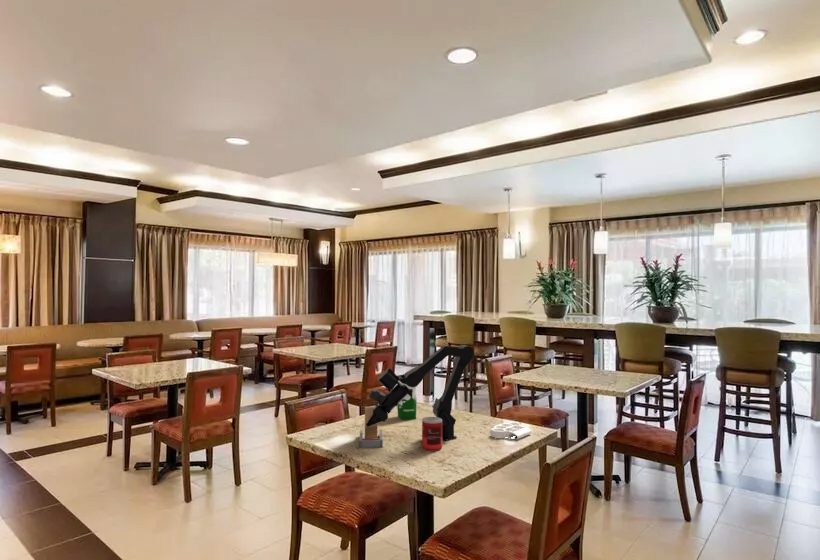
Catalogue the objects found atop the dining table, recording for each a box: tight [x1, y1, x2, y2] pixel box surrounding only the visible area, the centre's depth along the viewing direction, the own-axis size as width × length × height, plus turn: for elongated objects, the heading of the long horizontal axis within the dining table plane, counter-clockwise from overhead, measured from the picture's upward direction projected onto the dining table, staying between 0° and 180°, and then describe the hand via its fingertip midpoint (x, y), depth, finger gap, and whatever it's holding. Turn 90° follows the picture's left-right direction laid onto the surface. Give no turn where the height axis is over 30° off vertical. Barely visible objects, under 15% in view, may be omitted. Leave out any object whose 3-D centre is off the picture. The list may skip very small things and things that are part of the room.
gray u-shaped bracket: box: [358, 429, 384, 448], centre depth 194 cm, size 15×9×2 cm, turn 4°
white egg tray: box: [490, 421, 533, 441], centre depth 204 cm, size 3×18×15 cm
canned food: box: [421, 416, 443, 452], centre depth 186 cm, size 8×8×11 cm
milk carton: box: [396, 381, 418, 421], centre depth 232 cm, size 9×9×20 cm
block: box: [364, 406, 378, 439], centre depth 195 cm, size 5×5×13 cm
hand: (367, 423), depth 195 cm, fingers closed on block, 5 cm apart
